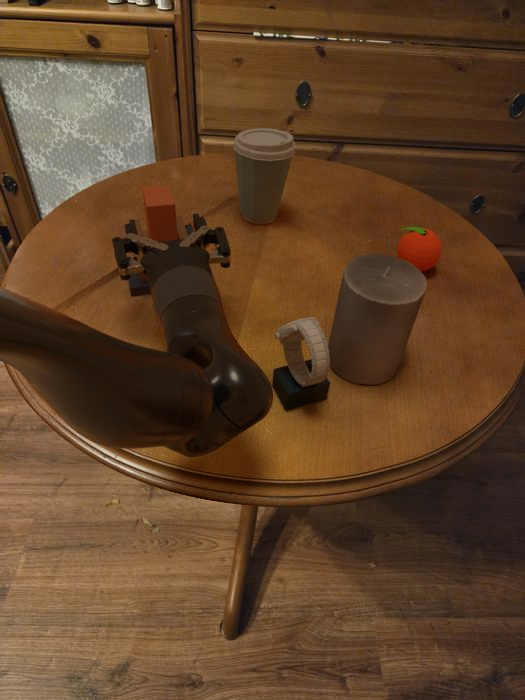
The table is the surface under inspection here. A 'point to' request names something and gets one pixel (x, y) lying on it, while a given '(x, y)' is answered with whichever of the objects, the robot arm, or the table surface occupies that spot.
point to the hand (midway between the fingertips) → (164, 222)
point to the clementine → (419, 248)
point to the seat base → (139, 280)
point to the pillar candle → (374, 317)
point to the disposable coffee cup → (262, 171)
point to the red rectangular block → (160, 213)
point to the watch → (302, 365)
